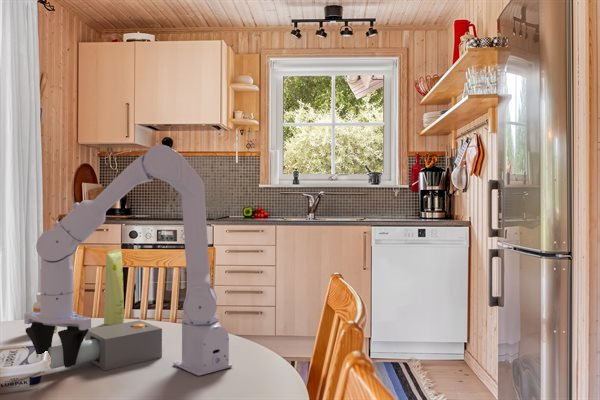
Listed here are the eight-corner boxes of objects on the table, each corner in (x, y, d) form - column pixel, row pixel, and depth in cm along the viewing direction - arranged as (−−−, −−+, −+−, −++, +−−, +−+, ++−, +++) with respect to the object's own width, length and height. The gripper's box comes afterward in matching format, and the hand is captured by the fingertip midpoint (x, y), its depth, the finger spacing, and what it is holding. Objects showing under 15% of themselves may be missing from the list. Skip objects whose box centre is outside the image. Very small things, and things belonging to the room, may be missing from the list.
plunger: (141, 337, 112) (141, 323, 112) (147, 340, 111) (147, 325, 111) (131, 339, 111) (131, 324, 111) (136, 342, 109) (136, 326, 109)
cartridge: (113, 352, 109) (113, 332, 109) (121, 356, 106) (121, 336, 106) (47, 366, 100) (47, 344, 100) (54, 371, 97) (54, 349, 97)
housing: (139, 347, 116) (139, 320, 116) (161, 357, 109) (161, 328, 109) (85, 358, 108) (85, 329, 108) (105, 370, 101) (105, 339, 101)
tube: (126, 324, 137) (126, 250, 137) (106, 327, 134) (106, 251, 134) (121, 320, 142) (121, 248, 141) (101, 322, 139) (101, 249, 139)
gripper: (102, 291, 100) (102, 362, 101) (45, 286, 106) (45, 354, 106) (74, 298, 94) (75, 373, 94) (14, 292, 99) (15, 364, 99)
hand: (57, 364), depth 99 cm, fingers open, 6 cm apart
